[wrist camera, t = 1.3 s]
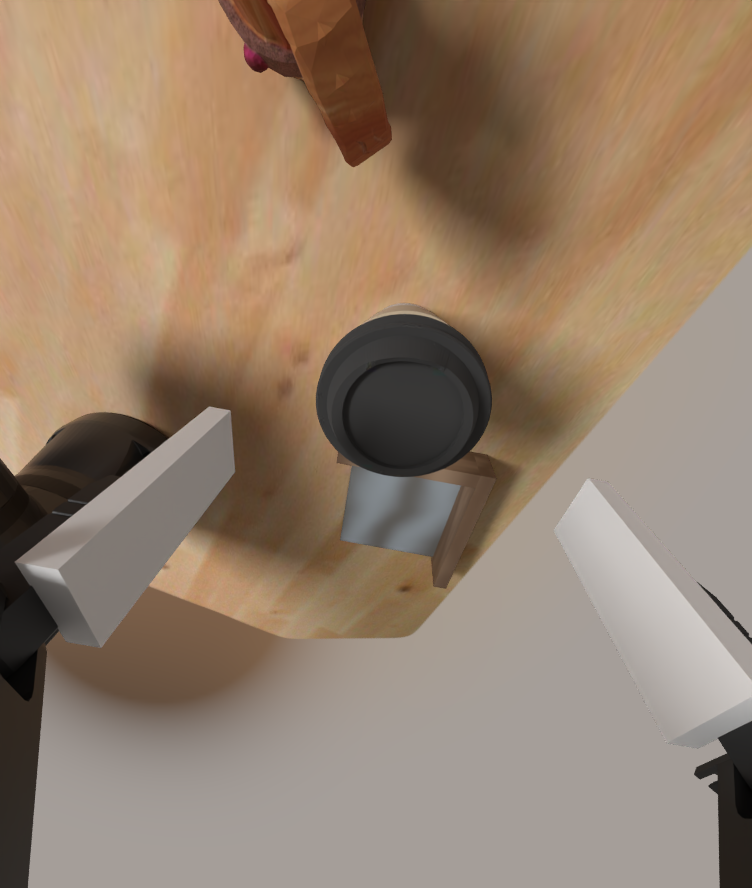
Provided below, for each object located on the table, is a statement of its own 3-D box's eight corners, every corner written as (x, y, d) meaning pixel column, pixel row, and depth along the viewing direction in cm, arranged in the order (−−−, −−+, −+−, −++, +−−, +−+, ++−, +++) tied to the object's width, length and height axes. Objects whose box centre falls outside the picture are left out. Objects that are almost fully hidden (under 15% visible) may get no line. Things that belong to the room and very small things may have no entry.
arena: (330, 540, 41) (323, 566, 38) (345, 428, 33) (338, 449, 29) (442, 560, 42) (445, 588, 38) (487, 455, 33) (496, 478, 29)
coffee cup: (448, 396, 30) (479, 506, 17) (351, 390, 30) (312, 493, 18) (465, 289, 25) (526, 330, 12) (351, 284, 26) (296, 319, 13)
